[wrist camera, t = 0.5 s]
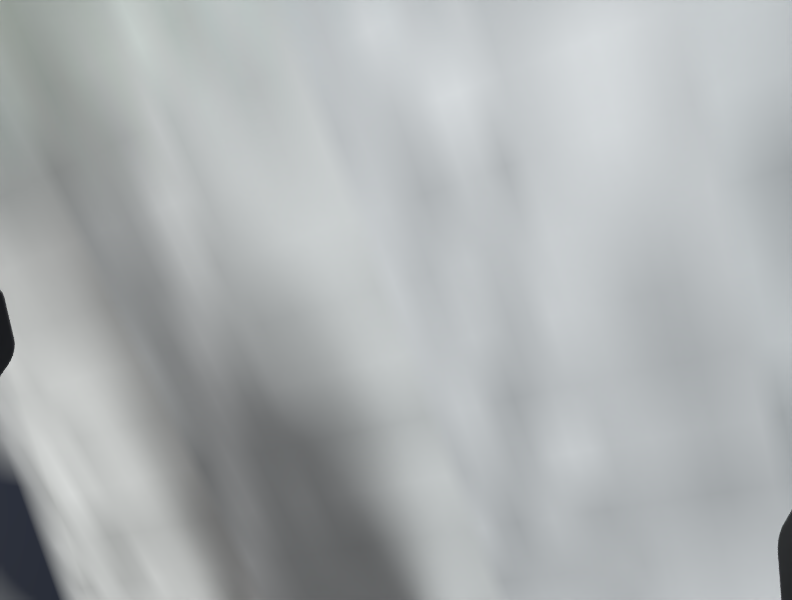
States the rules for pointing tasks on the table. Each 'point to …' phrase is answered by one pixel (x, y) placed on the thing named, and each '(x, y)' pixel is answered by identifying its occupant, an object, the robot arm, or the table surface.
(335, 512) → the table surface
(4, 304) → the robot arm
